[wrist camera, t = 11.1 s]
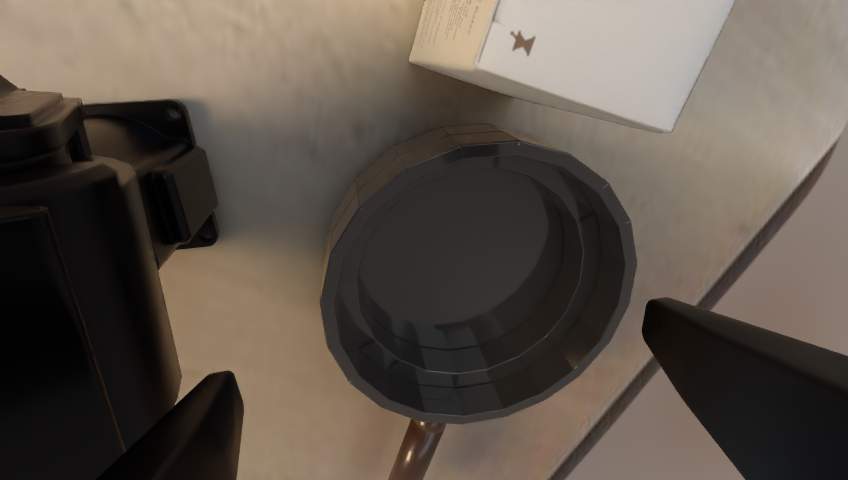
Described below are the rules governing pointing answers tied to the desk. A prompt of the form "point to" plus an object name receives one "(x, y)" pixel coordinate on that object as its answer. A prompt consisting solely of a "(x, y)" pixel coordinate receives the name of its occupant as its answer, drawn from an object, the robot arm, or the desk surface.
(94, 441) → the robot arm
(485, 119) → the desk surface
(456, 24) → the small box
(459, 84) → the desk surface
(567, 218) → the pan
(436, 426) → the pan handle
